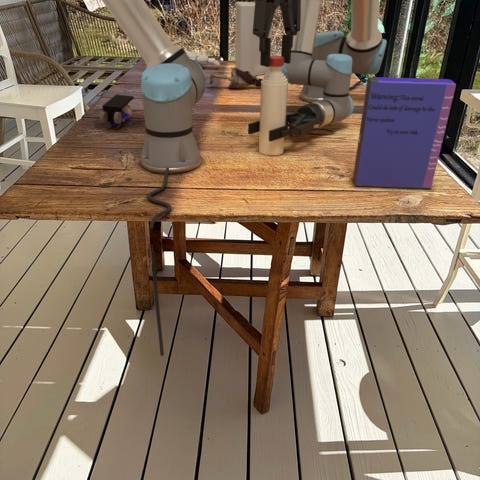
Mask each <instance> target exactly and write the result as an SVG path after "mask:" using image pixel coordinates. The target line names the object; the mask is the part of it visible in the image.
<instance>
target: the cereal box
mask: <svg viewBox="0 0 480 480" xmlns="http://www.w3.org/2000/svg"><path fill="white" fill-rule="evenodd" d="M365 85H366V86H365V92H364V98H363V99H364V100H363V106H362V113H361V118H360V126H359V132H358V140H357V146H356V153H355V160H354V166H353V167H354V168H353V173H352V180H353V183H354V185H355V187H373V188H395V189H396V188H397V189H398V188H399V189H419V190H420V189H421V190H422V189H423V190H432V185H433V183H434V178H435V173H436V170H437V166H438V161H439V158H440V153H441V150H442V145H443V141H444V136H445V133H446V129H447V125H448V121H449V115H450V112H451V107H452V103H453V100H454V95H455V91H456V88H457V87H456V86H457V84H456V83H455V82H454V80H452V79H448V78H419V77H418V78H417V77H416V78H415V77H413V78H412V77H411V78H410V77H384V76H383V77H379V76H378V77H377V76H367V78H366V84H365Z"/></svg>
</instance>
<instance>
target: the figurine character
mask: <svg viewBox="0 0 480 480" xmlns="http://www.w3.org/2000/svg"><path fill="white" fill-rule="evenodd" d="M134 99H135V96H133V95H122V94H115V95H113V96H112V97H111V98H110V99H108V100H107V102H105V103H104V104H102V110H101V111H100V112H99V116H98V117H99V119H98V120H99V122H100V123H101V124H107V123H109V124H108V125H107V127H106V128H107V129H111V127H113V126H116V130H118V129H119V128H120V127H121V126H122V125H121V124H124V122H125V121H127V120H129V119H130V118H131V116H132V114H133V111H132V108H131V106H130V105H129V103H130V102H132V101H133V100H134Z"/></svg>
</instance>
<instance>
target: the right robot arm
mask: <svg viewBox="0 0 480 480" xmlns="http://www.w3.org/2000/svg"><path fill="white" fill-rule="evenodd" d="M322 2H323V0H301V22H300V31H299V32H297V35H296V36H295V35H294V36H293V47H292V49H291V61H290V63H289V64H287V63H284V66H281V71H282V73H283V74H284V76H286V78H287V81H288V85H289V84H290V85H298V86H302V88H301V90H300V96H299V98H300V99H301V100H302V101H303V102H304V101H305V102H306V104H303V105H301V106H299V108H298V109H297V111H293V112H289V113H286V123H285V126H283V127H280V128H276V129H273V130H270V131H269V141H274V140H277V139H280V138H283V137H285V138H286V137H293V136H294V138H298V139H299V138H301V137H303V136H305V135H307V134H310V133H312V132H316V131H319V130H320V129H321V128H323V127H325V126H328V125H331V124H334V123H339V122H342V121H344V120H346V119H348V118H349V117H351V115H352V114H353V112H354V110H355V108H354V107H355V104H354V101H353V98H352V97H351V96H350V90H354V89H356V87H357V86H358V85H359V84H361V83H363V84H367V80H366V79H364V78H362V79H360V80H358V81H357V82H355V83H354V84H353V85H352V86H351V80H352V75H353V74H358V75H365V76H366V75H372V76H373V75H376V74H378V73H379V71H380V69H381V66H382V63H383V60H384V56H385V51H386V49H387V43H388V42H387V41H388V40H387V39H385V38H383V36H382V31H380V30H379V29H378V27H379V26H378V25H379V12H380V0H350V31H349V32H348V33H347V35H346V36H345V33H344V31H339V30H333V31H325V32H319V33H318V32H317V30H318V26H319V20H320V13H321V7H322ZM295 26H296V25H295ZM307 102H308V103H307ZM259 128H260V120H256V121H254V122H250V123H248V125H247V134H248V135H252V134H256V133H259Z"/></svg>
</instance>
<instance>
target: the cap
mask: <svg viewBox="0 0 480 480" xmlns="http://www.w3.org/2000/svg"><path fill="white" fill-rule="evenodd" d="M270 66H272V67H281V66H284V57H283V56H281V55H271V56H270Z"/></svg>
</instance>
